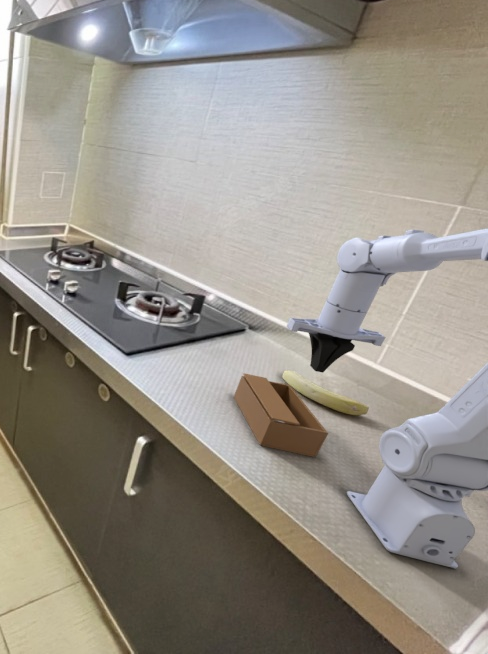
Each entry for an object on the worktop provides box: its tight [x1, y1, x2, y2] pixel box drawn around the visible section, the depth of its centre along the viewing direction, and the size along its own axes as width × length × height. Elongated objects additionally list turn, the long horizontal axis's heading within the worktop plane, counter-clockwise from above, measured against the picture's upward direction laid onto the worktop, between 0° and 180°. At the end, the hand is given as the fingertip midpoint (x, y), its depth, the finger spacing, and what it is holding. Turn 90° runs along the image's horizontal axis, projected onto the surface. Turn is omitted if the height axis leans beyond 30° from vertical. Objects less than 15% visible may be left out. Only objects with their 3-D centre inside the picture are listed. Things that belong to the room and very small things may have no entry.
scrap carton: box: [233, 375, 329, 458], centre depth 73 cm, size 14×9×5 cm, turn 167°
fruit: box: [282, 369, 370, 416], centre depth 84 cm, size 7×15×3 cm, turn 22°
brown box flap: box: [242, 372, 300, 425], centre depth 73 cm, size 14×4×1 cm, turn 167°
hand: (316, 369), depth 75 cm, fingers closed
